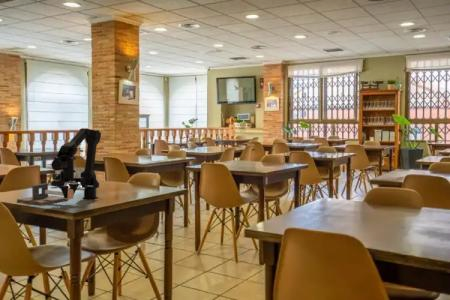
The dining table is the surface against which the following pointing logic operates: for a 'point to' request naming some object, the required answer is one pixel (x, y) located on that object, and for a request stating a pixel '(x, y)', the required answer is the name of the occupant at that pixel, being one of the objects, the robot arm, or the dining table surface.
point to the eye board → (38, 201)
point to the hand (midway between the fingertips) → (68, 197)
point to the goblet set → (78, 170)
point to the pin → (54, 192)
